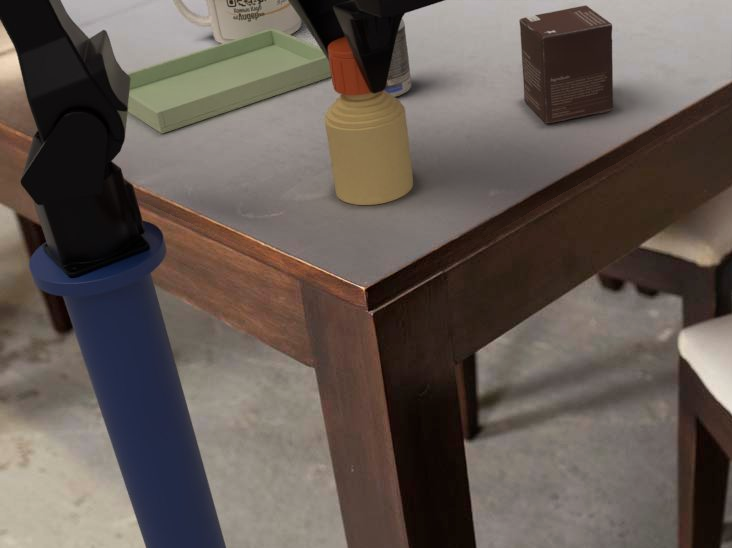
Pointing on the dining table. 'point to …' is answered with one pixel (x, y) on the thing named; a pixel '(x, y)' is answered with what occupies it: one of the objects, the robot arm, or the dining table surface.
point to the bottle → (369, 148)
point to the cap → (345, 69)
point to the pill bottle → (399, 66)
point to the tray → (223, 78)
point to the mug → (243, 17)
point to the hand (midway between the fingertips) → (362, 85)
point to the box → (567, 63)
